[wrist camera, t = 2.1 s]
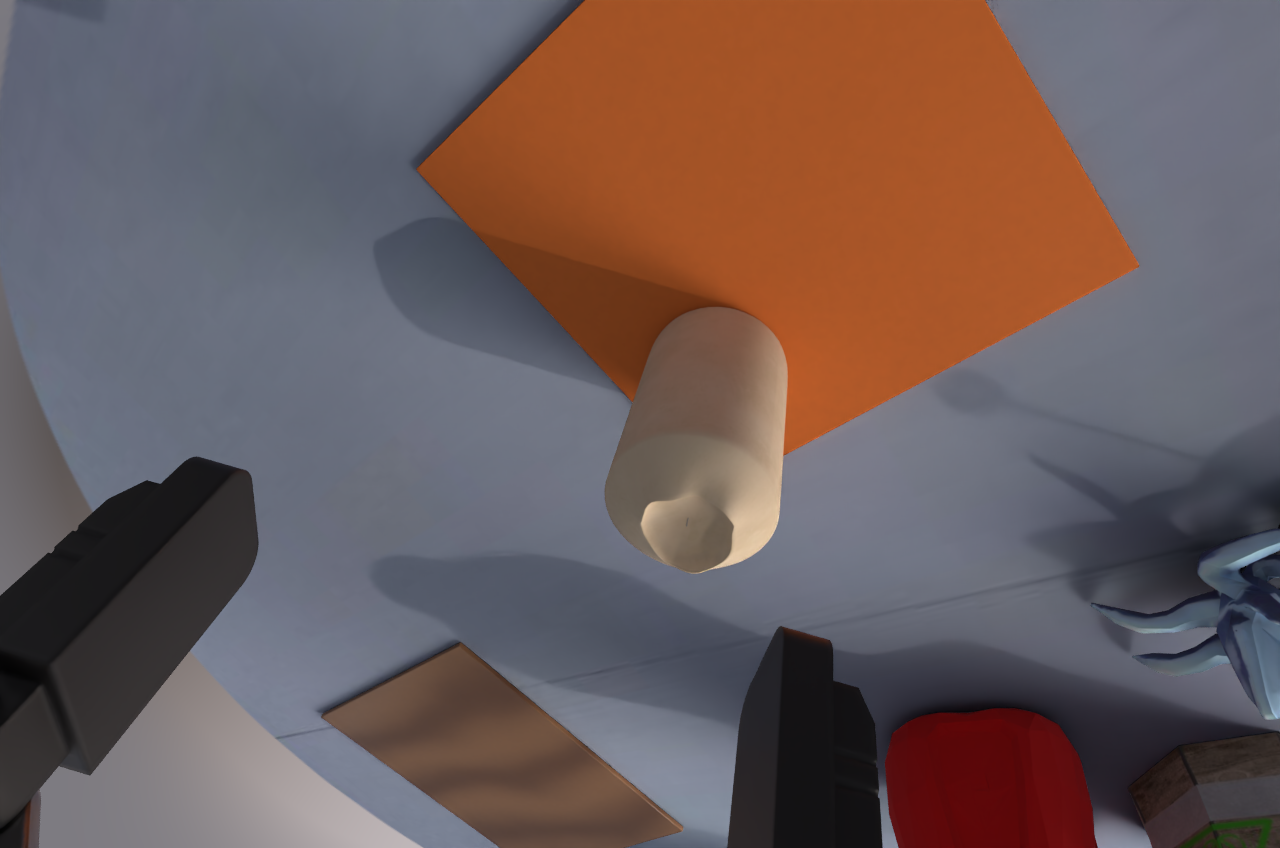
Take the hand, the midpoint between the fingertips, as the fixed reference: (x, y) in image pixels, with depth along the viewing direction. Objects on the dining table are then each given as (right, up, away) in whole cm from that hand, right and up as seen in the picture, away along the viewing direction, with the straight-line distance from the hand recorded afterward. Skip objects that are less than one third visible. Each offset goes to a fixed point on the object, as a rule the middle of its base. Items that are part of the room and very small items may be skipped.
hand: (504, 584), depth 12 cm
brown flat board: (-7, -20, +41) cm, 46 cm away
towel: (+6, +10, +17) cm, 20 cm away
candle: (+5, +5, +20) cm, 22 cm away
